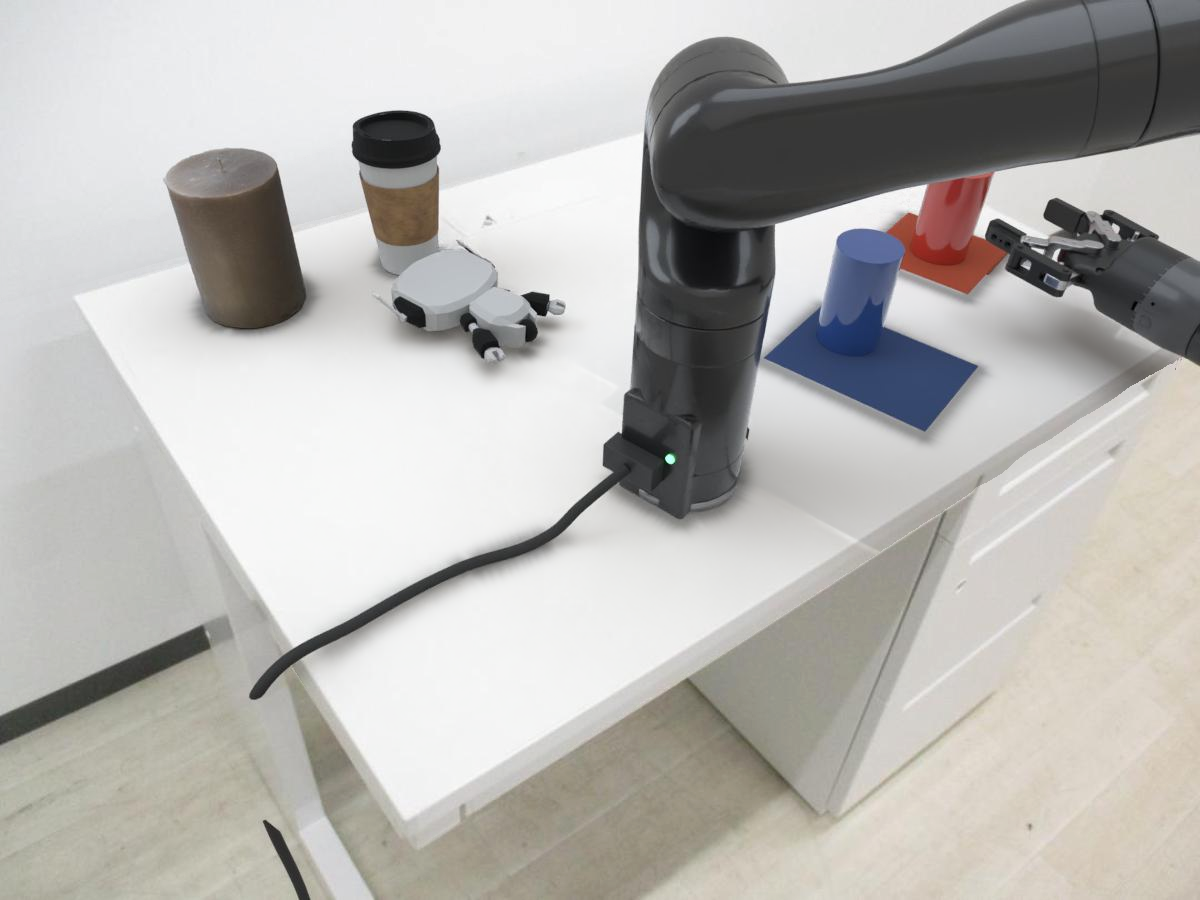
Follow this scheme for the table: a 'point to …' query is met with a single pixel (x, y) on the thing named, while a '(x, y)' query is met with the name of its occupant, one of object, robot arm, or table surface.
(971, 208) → the red glossy cylinder
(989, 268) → the red mat
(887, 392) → the blue mat
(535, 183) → the table surface
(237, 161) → the pillar candle
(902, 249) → the blue glossy cylinder
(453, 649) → the table surface
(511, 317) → the robot toy
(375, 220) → the coffee cup
